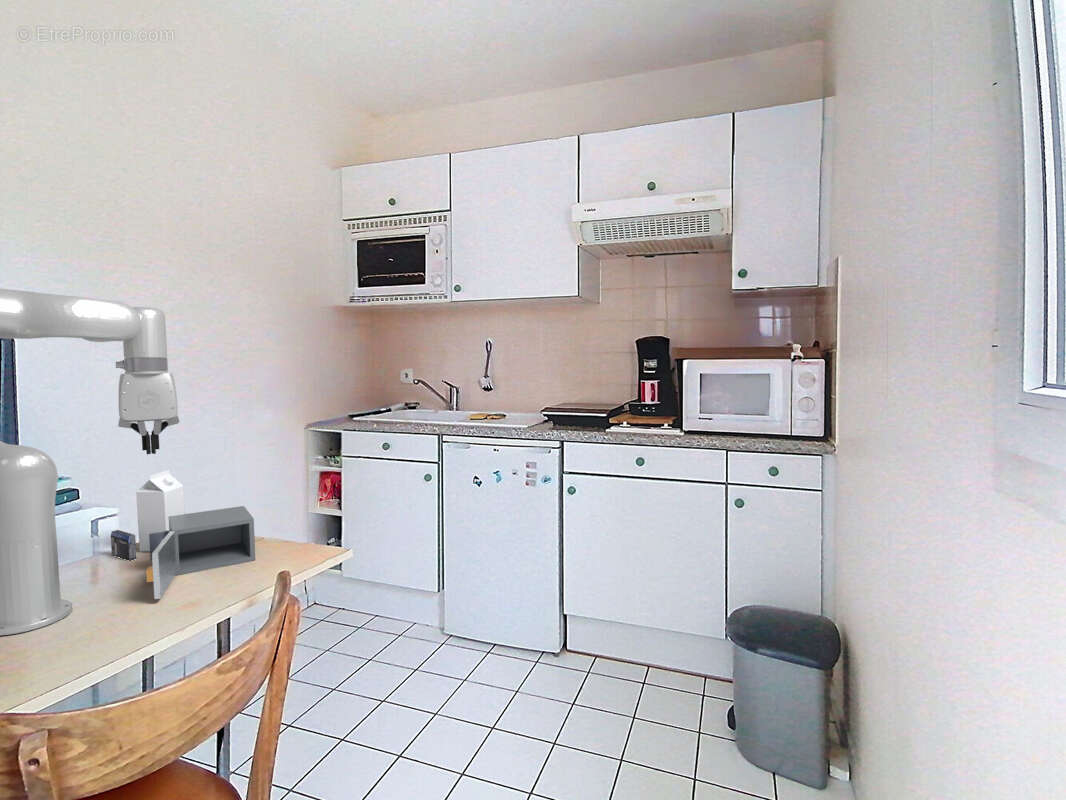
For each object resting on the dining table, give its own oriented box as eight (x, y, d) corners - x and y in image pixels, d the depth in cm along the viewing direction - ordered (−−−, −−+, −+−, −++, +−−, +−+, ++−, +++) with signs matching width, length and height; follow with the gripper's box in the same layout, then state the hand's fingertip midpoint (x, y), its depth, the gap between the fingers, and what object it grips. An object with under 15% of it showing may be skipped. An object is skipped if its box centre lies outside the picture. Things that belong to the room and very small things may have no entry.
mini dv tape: (111, 555, 136) (110, 531, 135) (118, 554, 137) (117, 529, 136) (129, 561, 131) (128, 536, 131) (136, 559, 133) (135, 534, 132)
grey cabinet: (152, 580, 120) (149, 534, 119) (150, 561, 131) (148, 519, 131) (255, 560, 132) (253, 518, 131) (245, 544, 143) (243, 505, 142)
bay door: (165, 573, 121) (163, 532, 121) (177, 571, 122) (175, 530, 122) (147, 600, 107) (144, 554, 107) (160, 598, 108) (158, 552, 108)
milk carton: (139, 552, 138) (134, 475, 136) (159, 542, 145) (155, 469, 144) (167, 552, 138) (163, 475, 136) (186, 543, 145) (182, 469, 143)
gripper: (101, 367, 111) (106, 459, 112) (189, 366, 120) (193, 452, 121) (102, 367, 117) (107, 454, 118) (186, 366, 126) (190, 447, 127)
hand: (151, 453), depth 120 cm, fingers closed
